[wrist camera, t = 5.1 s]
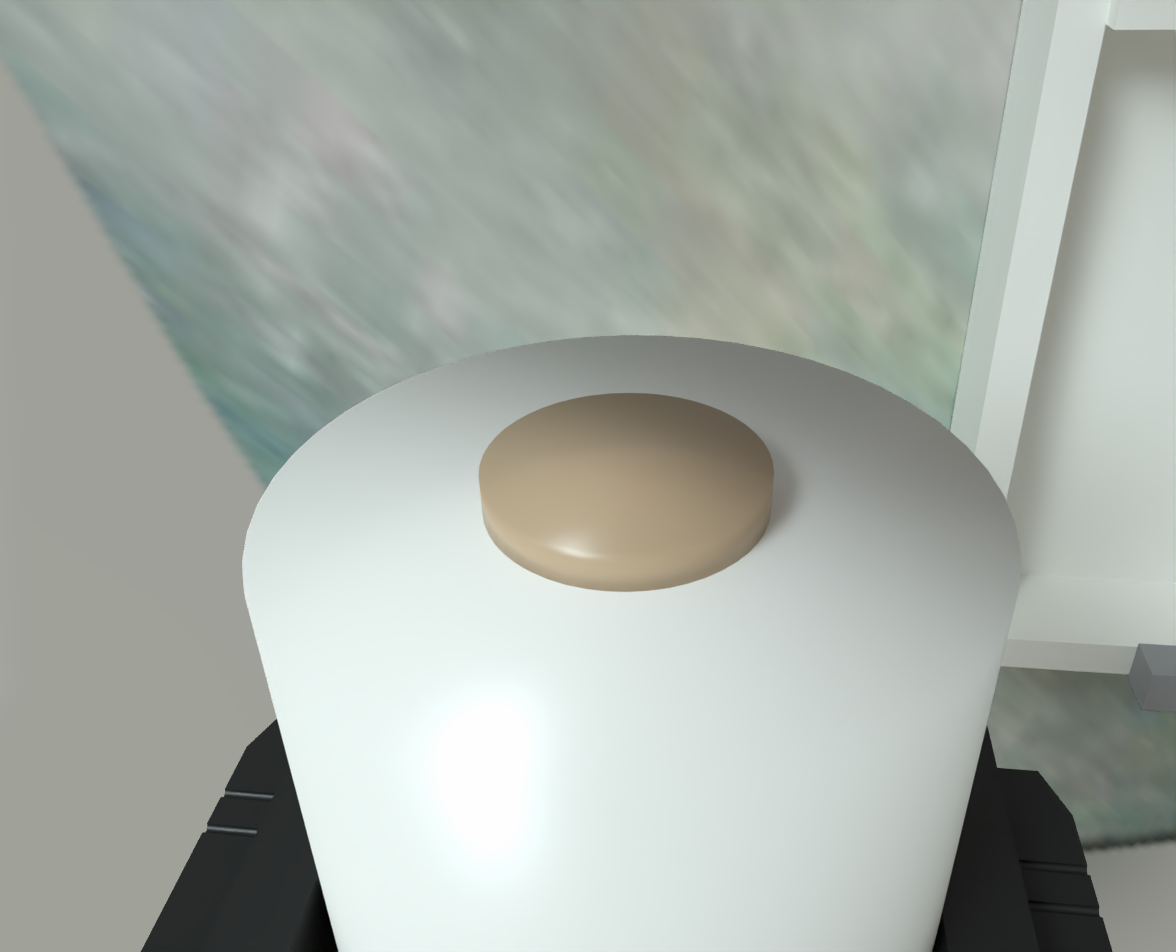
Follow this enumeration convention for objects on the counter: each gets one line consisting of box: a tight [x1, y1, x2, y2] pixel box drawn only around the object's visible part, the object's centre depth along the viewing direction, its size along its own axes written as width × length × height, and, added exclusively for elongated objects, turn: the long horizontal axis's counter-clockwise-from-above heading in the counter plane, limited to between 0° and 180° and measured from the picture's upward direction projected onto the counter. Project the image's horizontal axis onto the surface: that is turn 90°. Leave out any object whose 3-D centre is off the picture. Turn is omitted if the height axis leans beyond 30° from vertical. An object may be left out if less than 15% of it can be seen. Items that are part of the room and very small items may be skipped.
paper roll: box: [242, 335, 1021, 952], centre depth 10 cm, size 10×5×5 cm, turn 2°
